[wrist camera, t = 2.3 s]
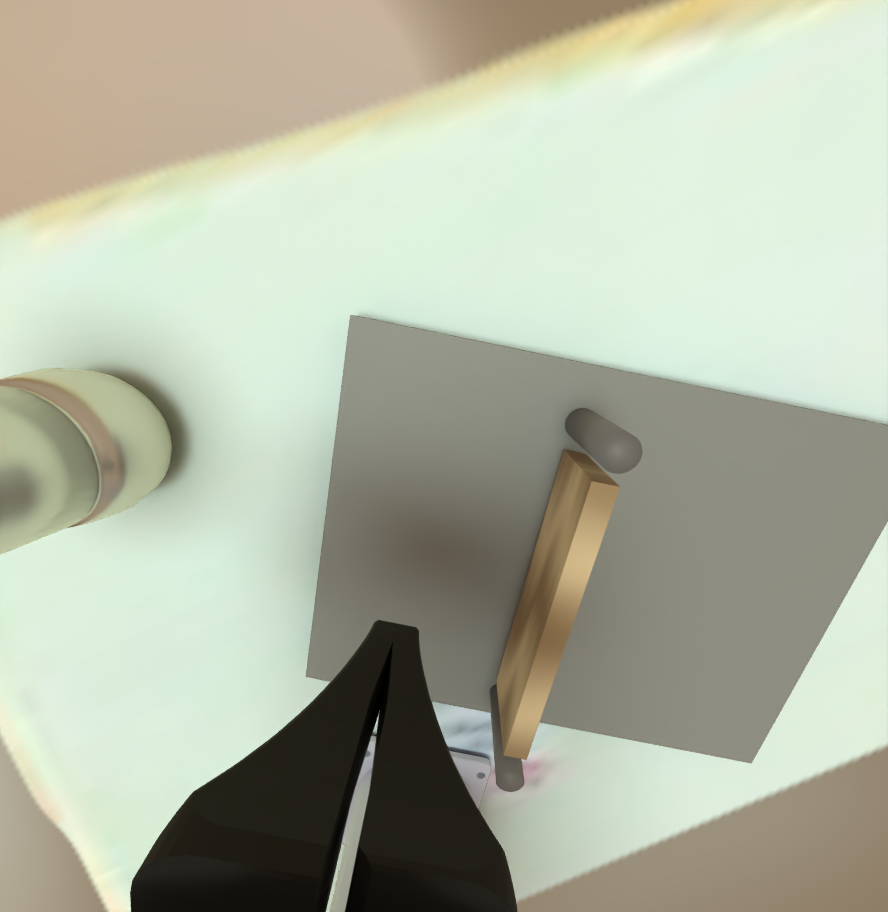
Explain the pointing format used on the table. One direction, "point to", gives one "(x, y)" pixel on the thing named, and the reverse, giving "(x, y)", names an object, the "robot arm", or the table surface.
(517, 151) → the table surface
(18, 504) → the plastic bottle
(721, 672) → the gate board
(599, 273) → the table surface
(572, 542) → the board
